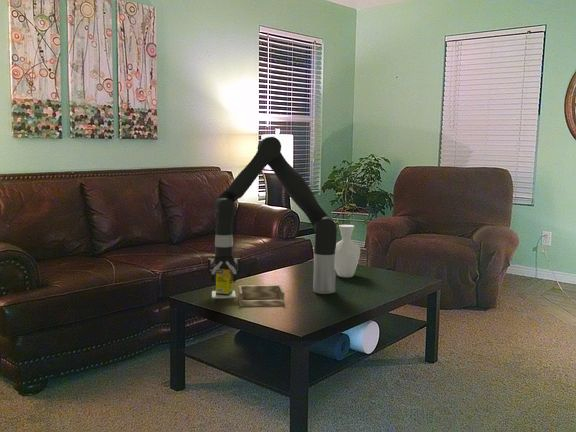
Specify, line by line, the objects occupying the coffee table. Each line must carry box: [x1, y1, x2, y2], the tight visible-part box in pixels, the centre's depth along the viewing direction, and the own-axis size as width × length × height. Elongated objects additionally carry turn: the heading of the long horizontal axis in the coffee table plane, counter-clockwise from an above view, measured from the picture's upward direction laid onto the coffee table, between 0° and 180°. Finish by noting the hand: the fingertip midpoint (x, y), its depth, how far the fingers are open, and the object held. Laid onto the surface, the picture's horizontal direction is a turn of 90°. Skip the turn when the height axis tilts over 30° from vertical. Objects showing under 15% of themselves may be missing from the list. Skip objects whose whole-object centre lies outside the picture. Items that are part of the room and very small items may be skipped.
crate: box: [237, 284, 286, 307], centre depth 234 cm, size 18×13×5 cm
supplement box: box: [215, 268, 234, 296], centre depth 242 cm, size 6×6×11 cm
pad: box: [211, 290, 237, 300], centre depth 243 cm, size 10×10×1 cm
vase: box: [335, 224, 361, 278], centre depth 282 cm, size 14×14×25 cm
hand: (223, 282), depth 242 cm, fingers open, 8 cm apart
